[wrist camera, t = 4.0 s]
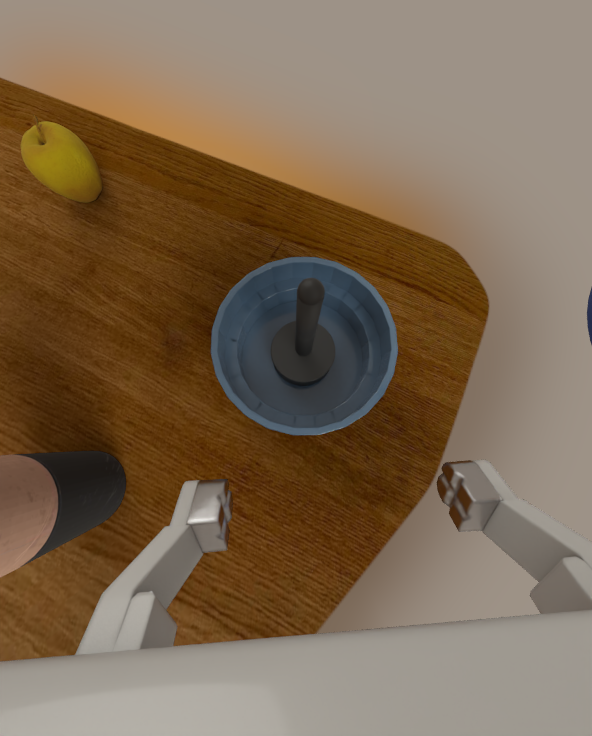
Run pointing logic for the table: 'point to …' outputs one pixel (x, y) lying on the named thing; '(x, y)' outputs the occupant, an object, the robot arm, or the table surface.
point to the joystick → (304, 340)
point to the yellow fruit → (61, 161)
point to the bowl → (338, 316)
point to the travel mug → (53, 501)
